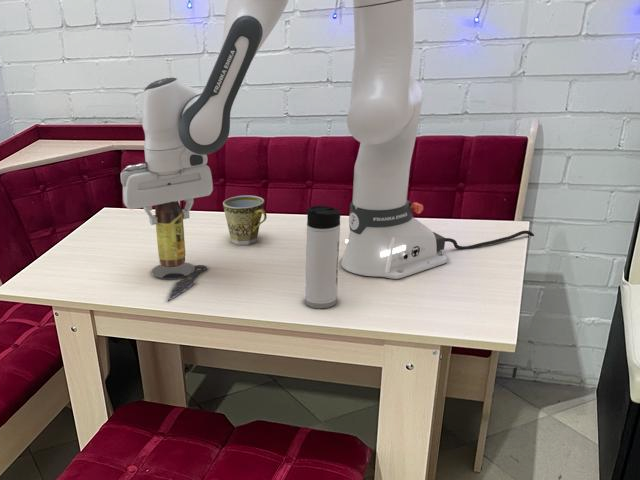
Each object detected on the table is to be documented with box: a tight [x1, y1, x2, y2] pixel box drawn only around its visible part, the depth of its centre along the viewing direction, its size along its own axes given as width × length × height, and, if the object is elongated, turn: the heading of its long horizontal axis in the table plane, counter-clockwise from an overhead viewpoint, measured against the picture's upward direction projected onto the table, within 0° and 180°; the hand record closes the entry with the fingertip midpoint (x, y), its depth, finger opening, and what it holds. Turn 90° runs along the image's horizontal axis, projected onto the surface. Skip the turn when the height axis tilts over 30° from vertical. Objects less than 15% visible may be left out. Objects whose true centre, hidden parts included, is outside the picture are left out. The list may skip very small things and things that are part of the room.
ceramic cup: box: [222, 195, 267, 246], centre depth 184 cm, size 13×10×10 cm
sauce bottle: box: [154, 183, 186, 267], centre depth 168 cm, size 6×6×20 cm
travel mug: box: [304, 205, 341, 309], centre depth 147 cm, size 6×7×20 cm
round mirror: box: [151, 262, 195, 281], centre depth 174 cm, size 10×10×1 cm
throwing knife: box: [167, 264, 208, 302], centre depth 168 cm, size 4×20×1 cm, turn 154°
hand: (169, 221), depth 168 cm, fingers closed on sauce bottle, 6 cm apart
